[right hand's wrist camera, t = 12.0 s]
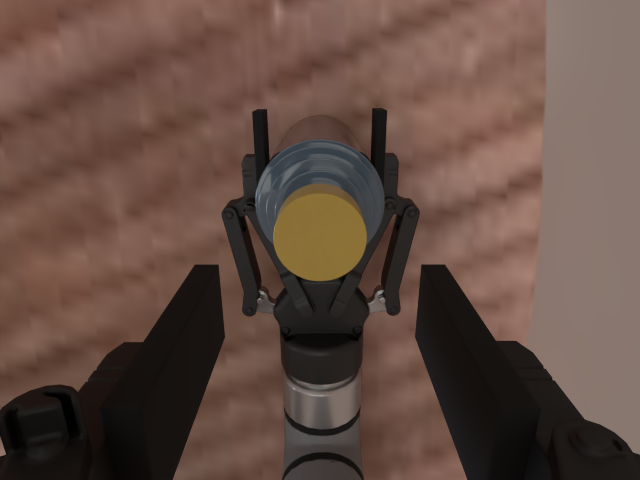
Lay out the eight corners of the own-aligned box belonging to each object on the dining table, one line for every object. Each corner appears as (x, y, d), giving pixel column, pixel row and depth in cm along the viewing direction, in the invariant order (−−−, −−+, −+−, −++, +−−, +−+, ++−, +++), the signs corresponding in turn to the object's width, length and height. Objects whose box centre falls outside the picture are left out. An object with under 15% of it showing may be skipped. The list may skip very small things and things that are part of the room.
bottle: (313, 211, 43) (306, 333, 22) (263, 149, 41) (205, 222, 20) (376, 164, 41) (431, 249, 21) (327, 97, 39) (336, 119, 19)
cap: (312, 279, 23) (311, 297, 21) (259, 217, 22) (253, 231, 20) (379, 232, 22) (385, 247, 20) (328, 165, 21) (328, 174, 19)
